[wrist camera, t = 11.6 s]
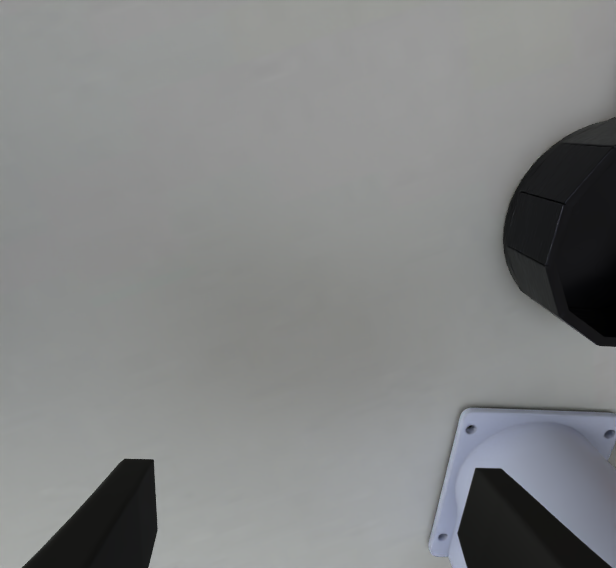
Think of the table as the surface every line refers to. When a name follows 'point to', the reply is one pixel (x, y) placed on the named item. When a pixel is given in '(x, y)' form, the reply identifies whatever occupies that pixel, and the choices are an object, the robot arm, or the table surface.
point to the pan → (569, 232)
